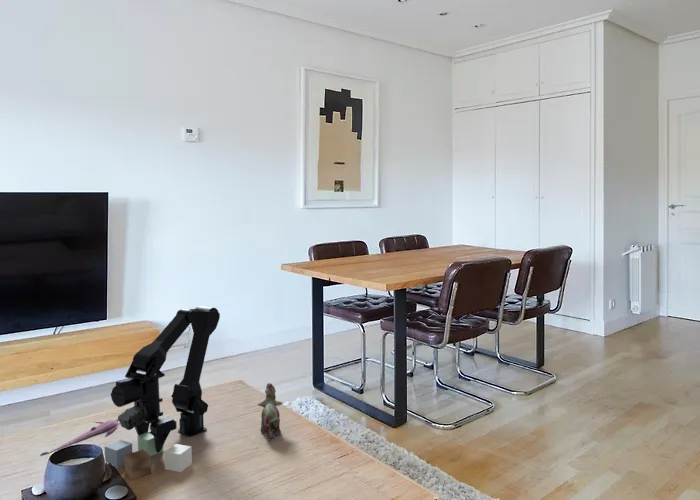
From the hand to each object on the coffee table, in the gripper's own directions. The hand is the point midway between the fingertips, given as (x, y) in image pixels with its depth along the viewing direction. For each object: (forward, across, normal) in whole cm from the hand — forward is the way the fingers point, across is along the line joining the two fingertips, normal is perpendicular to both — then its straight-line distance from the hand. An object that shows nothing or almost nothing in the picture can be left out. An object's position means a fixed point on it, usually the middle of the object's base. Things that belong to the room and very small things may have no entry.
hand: (150, 448), depth 160 cm
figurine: (+1, +17, +30) cm, 35 cm away
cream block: (+1, +14, 0) cm, 14 cm away
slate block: (+1, -1, -9) cm, 9 cm away
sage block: (+1, 0, 0) cm, 1 cm away
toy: (+2, -24, -8) cm, 25 cm away
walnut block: (+1, +9, -9) cm, 13 cm away
